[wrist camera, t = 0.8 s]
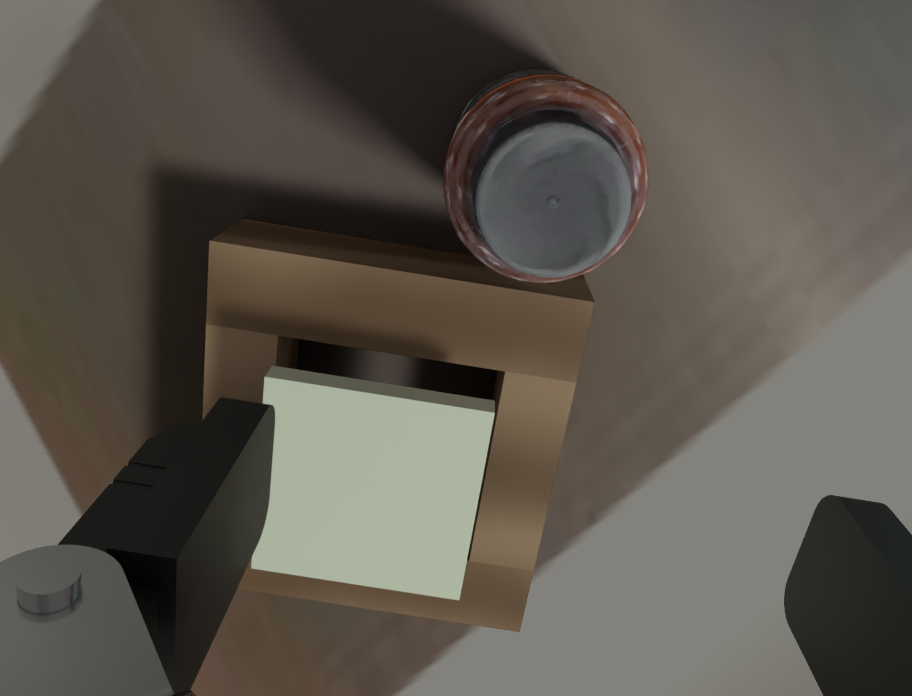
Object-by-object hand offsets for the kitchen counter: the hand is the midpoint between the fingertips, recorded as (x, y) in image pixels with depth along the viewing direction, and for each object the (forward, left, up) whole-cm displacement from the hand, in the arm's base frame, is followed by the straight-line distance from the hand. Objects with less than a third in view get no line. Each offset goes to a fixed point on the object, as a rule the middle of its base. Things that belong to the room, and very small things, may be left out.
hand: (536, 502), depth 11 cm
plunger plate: (+9, -4, -15) cm, 18 cm away
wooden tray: (+9, -4, -21) cm, 23 cm away
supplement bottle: (-3, 0, -21) cm, 21 cm away
